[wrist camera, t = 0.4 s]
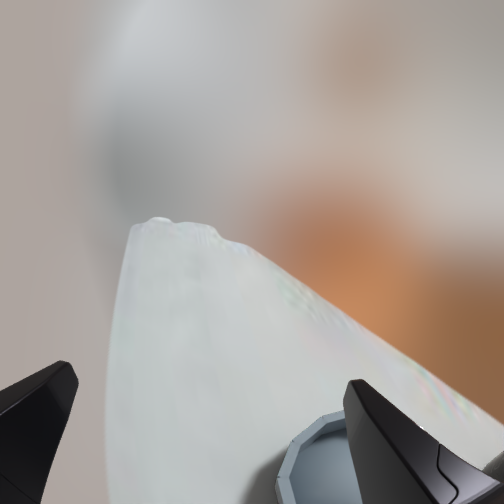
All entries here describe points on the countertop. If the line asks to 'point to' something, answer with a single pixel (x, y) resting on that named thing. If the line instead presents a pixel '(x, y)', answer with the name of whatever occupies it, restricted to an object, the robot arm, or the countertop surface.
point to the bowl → (319, 466)
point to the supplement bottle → (496, 468)
